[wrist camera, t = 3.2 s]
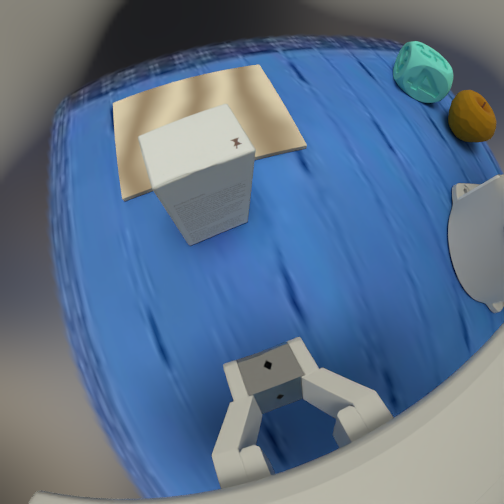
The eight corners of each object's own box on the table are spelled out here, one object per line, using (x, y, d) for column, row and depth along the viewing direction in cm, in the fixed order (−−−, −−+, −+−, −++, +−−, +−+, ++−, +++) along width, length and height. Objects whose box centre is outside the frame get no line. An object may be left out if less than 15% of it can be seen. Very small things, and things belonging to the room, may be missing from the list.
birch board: (258, 67, 31) (259, 64, 30) (305, 148, 28) (306, 145, 28) (114, 106, 28) (112, 103, 28) (124, 201, 25) (122, 199, 25)
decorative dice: (433, 110, 32) (458, 82, 25) (393, 88, 33) (415, 55, 25) (428, 84, 34) (448, 57, 27) (391, 64, 34) (408, 34, 27)
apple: (480, 154, 32) (510, 130, 23) (454, 152, 31) (488, 122, 22) (459, 115, 33) (484, 88, 25) (431, 108, 32) (457, 76, 24)
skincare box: (230, 185, 26) (230, 100, 15) (248, 222, 26) (259, 150, 14) (173, 208, 26) (135, 134, 14) (188, 247, 25) (152, 191, 13)
